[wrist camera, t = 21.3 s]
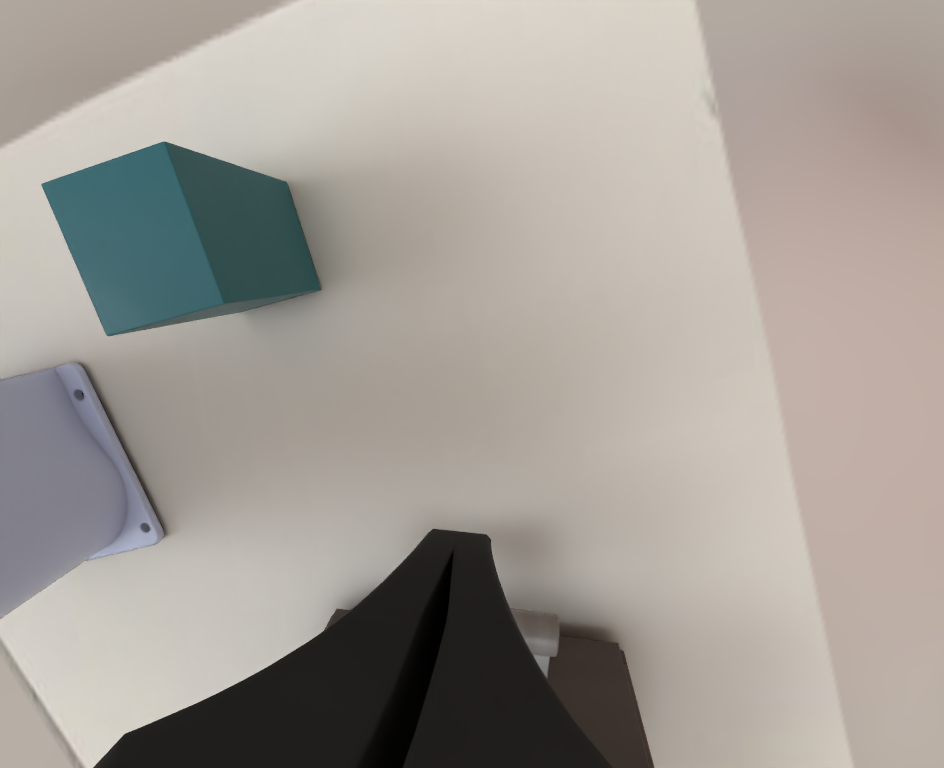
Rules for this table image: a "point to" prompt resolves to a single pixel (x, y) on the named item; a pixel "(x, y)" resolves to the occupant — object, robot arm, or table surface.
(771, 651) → the table surface
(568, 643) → the drawer
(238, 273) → the teal rectangular block
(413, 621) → the robot arm
